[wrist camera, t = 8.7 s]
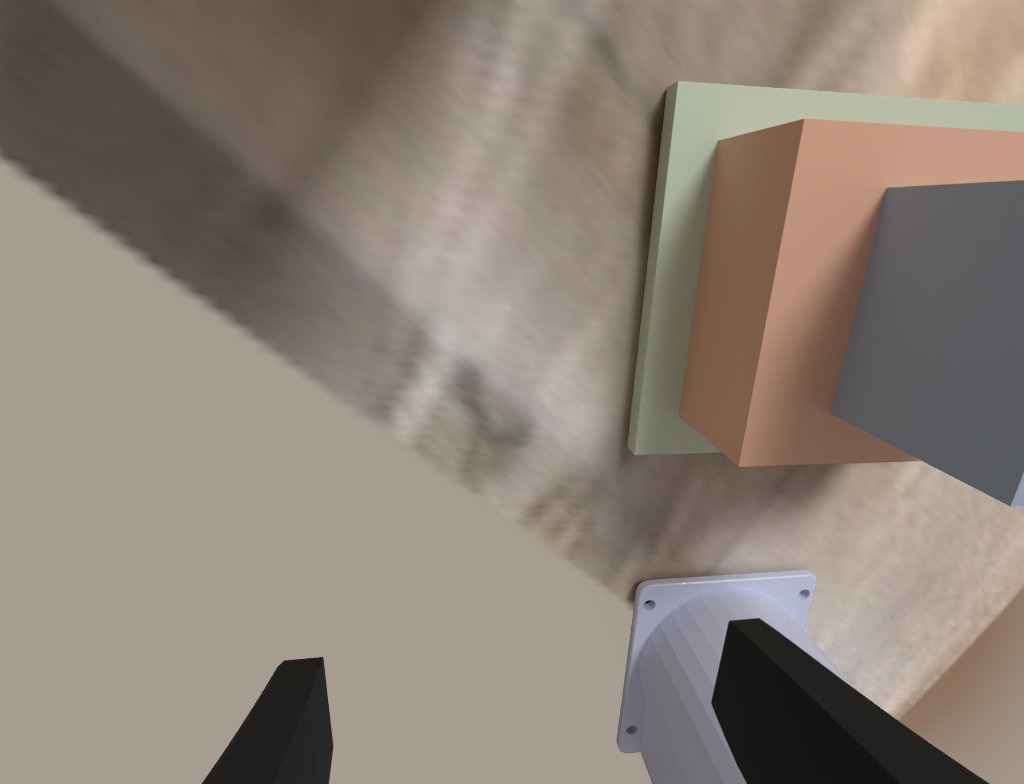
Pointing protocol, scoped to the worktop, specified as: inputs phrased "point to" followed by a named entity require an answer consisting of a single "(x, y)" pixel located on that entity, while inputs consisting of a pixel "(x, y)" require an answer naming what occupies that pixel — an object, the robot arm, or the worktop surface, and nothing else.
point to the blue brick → (944, 333)
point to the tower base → (687, 214)
